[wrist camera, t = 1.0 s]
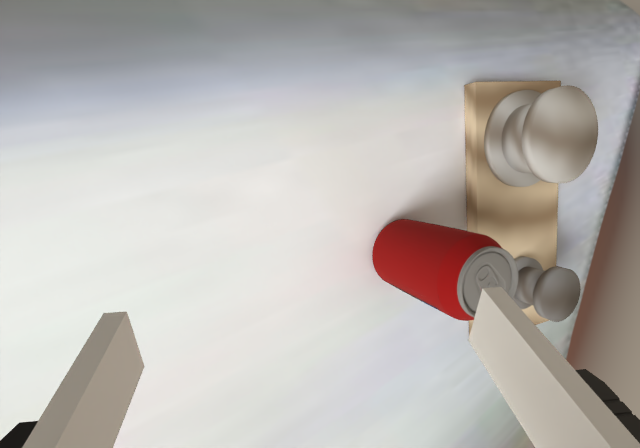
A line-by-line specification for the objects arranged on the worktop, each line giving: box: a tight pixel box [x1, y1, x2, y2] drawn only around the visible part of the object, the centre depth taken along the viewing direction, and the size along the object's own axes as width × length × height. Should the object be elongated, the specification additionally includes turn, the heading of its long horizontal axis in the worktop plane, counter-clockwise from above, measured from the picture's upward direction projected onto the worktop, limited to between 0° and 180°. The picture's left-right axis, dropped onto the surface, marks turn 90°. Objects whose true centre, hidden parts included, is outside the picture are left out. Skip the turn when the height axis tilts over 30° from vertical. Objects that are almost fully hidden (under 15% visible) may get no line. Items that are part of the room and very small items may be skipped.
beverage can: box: [372, 219, 518, 321], centre depth 31 cm, size 7×7×12 cm
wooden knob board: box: [464, 81, 598, 335], centre depth 38 cm, size 28×12×6 cm, turn 5°
